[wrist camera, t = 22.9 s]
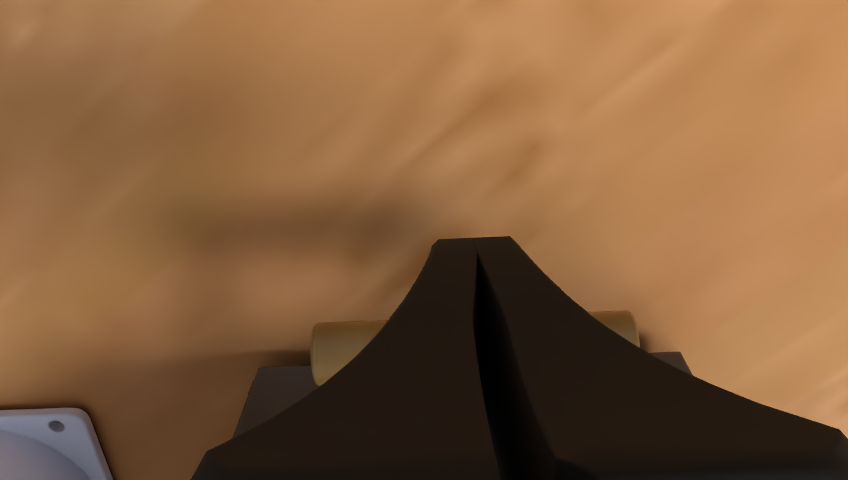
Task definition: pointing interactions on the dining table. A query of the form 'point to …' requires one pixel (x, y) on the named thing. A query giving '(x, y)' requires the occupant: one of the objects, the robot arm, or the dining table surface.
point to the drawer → (344, 342)
